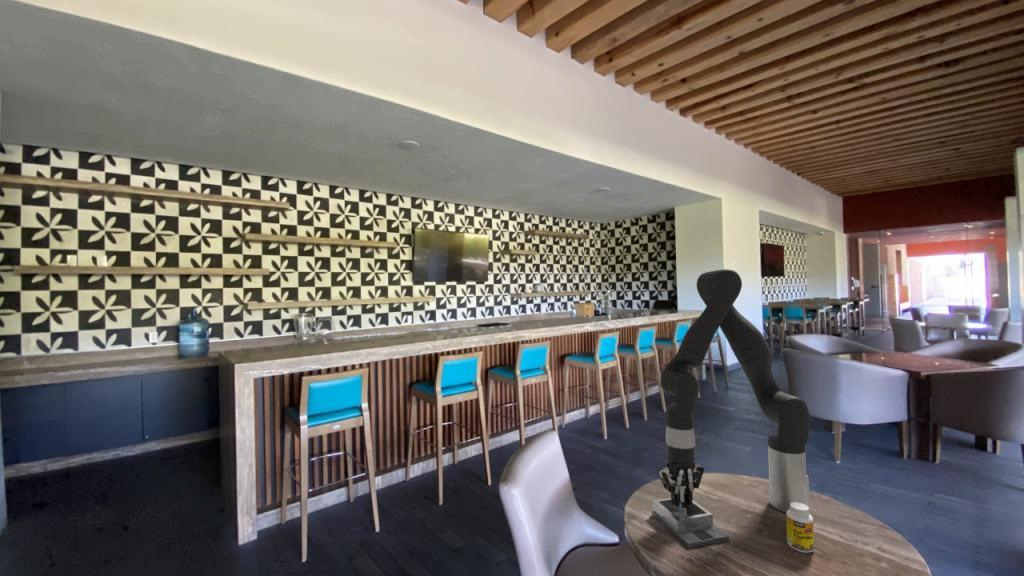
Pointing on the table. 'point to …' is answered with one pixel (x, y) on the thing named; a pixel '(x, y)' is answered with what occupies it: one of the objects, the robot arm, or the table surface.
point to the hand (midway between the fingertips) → (681, 504)
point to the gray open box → (688, 523)
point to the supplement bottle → (800, 528)
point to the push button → (682, 496)
